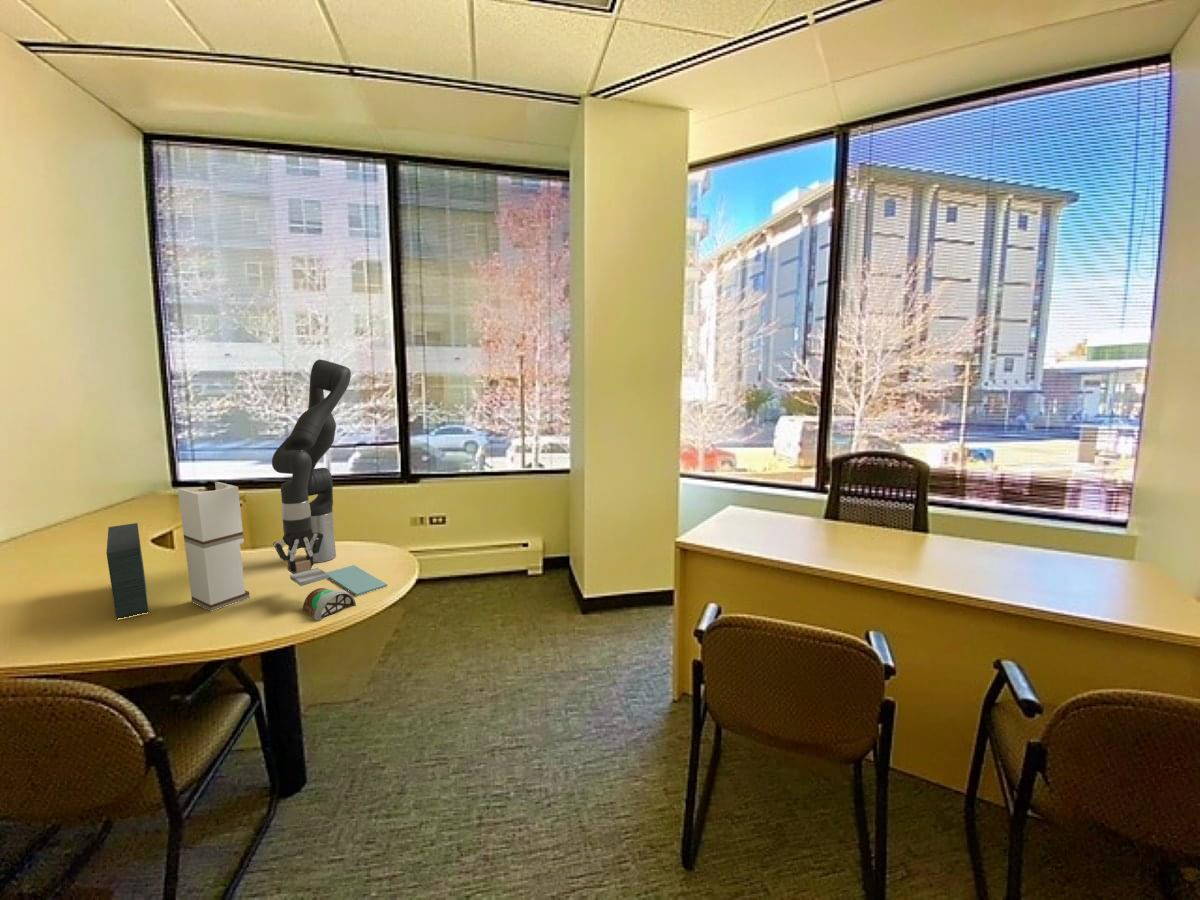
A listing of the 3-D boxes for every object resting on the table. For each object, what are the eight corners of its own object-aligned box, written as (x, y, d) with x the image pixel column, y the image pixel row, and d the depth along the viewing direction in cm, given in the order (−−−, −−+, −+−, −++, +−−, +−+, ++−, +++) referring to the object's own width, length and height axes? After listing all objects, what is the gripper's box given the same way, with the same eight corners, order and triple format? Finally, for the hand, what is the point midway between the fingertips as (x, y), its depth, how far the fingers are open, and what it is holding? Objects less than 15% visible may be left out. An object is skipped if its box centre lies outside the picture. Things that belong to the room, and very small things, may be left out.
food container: (335, 578, 169) (356, 585, 164) (336, 597, 170) (357, 604, 165) (296, 592, 159) (317, 600, 154) (297, 612, 160) (318, 621, 155)
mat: (324, 575, 187) (324, 573, 187) (353, 567, 194) (353, 565, 194) (356, 596, 171) (356, 594, 171) (387, 586, 178) (387, 584, 178)
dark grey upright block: (117, 587, 176) (108, 527, 173) (145, 581, 181) (137, 522, 177) (116, 621, 154) (106, 552, 151) (148, 613, 159) (139, 547, 155)
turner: (280, 572, 171) (279, 559, 170) (308, 565, 176) (306, 553, 176) (300, 586, 160) (299, 572, 159) (329, 578, 166) (328, 565, 165)
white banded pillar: (249, 598, 169) (238, 486, 163) (211, 611, 160) (197, 494, 154) (230, 589, 175) (218, 481, 169) (192, 602, 166) (177, 488, 160)
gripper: (316, 508, 174) (320, 560, 177) (266, 518, 164) (271, 573, 167) (326, 513, 169) (330, 566, 172) (275, 523, 159) (280, 579, 162)
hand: (301, 569), depth 169 cm, fingers closed on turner, 4 cm apart
